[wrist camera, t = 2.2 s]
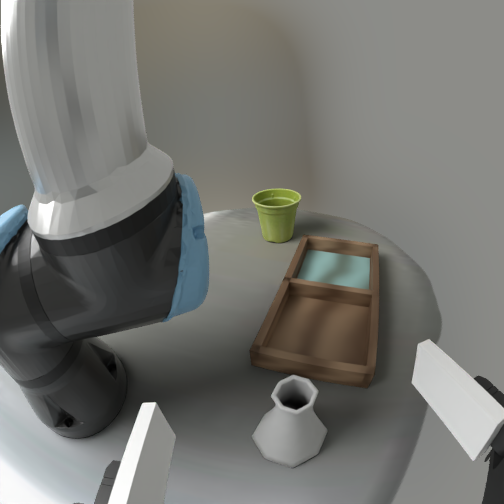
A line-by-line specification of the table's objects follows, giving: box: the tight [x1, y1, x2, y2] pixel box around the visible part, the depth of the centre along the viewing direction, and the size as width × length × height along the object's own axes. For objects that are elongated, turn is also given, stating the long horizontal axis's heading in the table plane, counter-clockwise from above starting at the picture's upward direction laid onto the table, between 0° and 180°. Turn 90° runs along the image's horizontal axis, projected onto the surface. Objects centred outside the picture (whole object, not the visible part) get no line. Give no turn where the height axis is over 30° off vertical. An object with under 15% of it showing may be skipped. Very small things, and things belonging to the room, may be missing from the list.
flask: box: [252, 375, 328, 468], centre depth 20 cm, size 7×7×10 cm
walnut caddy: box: [250, 235, 379, 388], centre depth 38 cm, size 14×27×3 cm, turn 159°
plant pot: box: [252, 189, 301, 243], centre depth 54 cm, size 9×9×9 cm
